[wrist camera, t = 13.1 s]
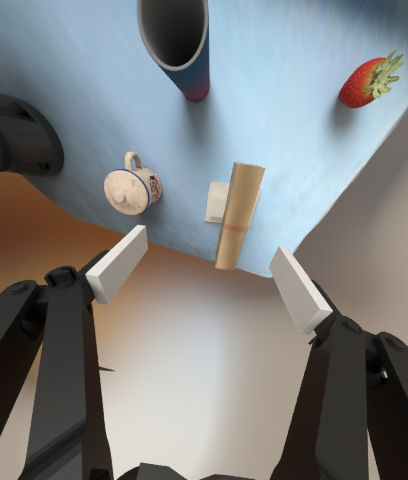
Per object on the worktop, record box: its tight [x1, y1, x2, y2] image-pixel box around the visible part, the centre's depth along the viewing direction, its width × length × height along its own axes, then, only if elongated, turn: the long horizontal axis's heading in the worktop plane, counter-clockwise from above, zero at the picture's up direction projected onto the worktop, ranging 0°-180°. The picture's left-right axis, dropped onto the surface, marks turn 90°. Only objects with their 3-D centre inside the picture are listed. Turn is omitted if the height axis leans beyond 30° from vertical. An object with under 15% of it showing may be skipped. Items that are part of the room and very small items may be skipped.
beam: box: [216, 162, 265, 271], centre depth 29 cm, size 4×20×6 cm, turn 173°
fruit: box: [339, 50, 403, 108], centre depth 22 cm, size 5×5×8 cm
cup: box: [137, 0, 210, 102], centre depth 20 cm, size 7×7×15 cm
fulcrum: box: [205, 181, 261, 228], centre depth 34 cm, size 12×10×7 cm
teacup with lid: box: [104, 152, 162, 215], centre depth 31 cm, size 12×9×12 cm
